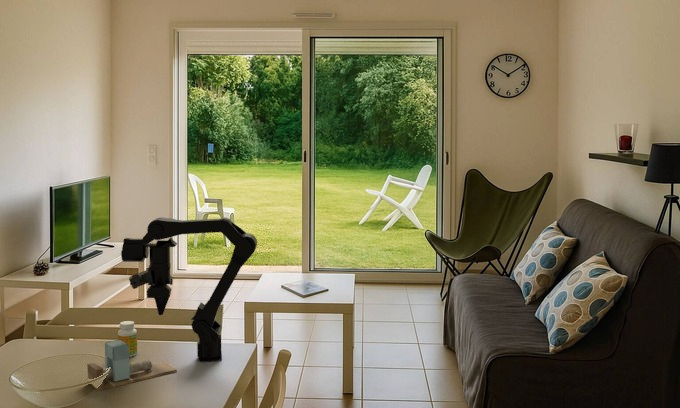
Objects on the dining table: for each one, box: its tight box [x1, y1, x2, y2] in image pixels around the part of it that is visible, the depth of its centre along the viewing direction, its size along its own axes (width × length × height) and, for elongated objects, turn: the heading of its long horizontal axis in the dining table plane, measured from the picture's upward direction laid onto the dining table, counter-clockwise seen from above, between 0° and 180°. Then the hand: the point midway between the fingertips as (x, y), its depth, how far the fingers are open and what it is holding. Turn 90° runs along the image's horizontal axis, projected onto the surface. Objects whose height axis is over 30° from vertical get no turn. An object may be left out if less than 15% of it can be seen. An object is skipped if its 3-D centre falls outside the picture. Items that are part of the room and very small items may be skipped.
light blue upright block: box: [104, 339, 130, 381], centre depth 181 cm, size 4×6×9 cm, turn 41°
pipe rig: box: [86, 359, 178, 391], centre depth 184 cm, size 22×8×5 cm, turn 131°
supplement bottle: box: [117, 320, 138, 358], centre depth 201 cm, size 5×5×10 cm
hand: (160, 314), depth 198 cm, fingers closed
